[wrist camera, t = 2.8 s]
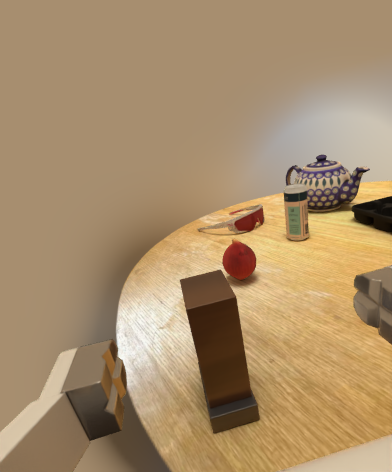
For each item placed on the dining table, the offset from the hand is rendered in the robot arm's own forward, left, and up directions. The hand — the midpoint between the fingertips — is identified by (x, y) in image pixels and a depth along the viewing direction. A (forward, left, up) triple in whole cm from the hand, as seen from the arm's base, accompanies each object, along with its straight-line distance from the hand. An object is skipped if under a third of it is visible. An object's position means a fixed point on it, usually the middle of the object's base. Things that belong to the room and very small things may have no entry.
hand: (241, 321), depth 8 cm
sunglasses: (+61, -21, -19) cm, 67 cm away
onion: (+32, -11, -19) cm, 39 cm away
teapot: (+57, -47, -19) cm, 76 cm away
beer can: (+42, -29, -19) cm, 55 cm away
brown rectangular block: (+12, -1, -19) cm, 22 cm away
